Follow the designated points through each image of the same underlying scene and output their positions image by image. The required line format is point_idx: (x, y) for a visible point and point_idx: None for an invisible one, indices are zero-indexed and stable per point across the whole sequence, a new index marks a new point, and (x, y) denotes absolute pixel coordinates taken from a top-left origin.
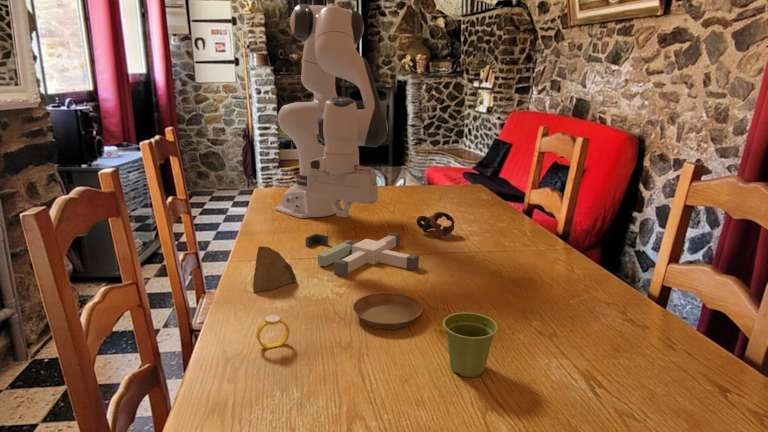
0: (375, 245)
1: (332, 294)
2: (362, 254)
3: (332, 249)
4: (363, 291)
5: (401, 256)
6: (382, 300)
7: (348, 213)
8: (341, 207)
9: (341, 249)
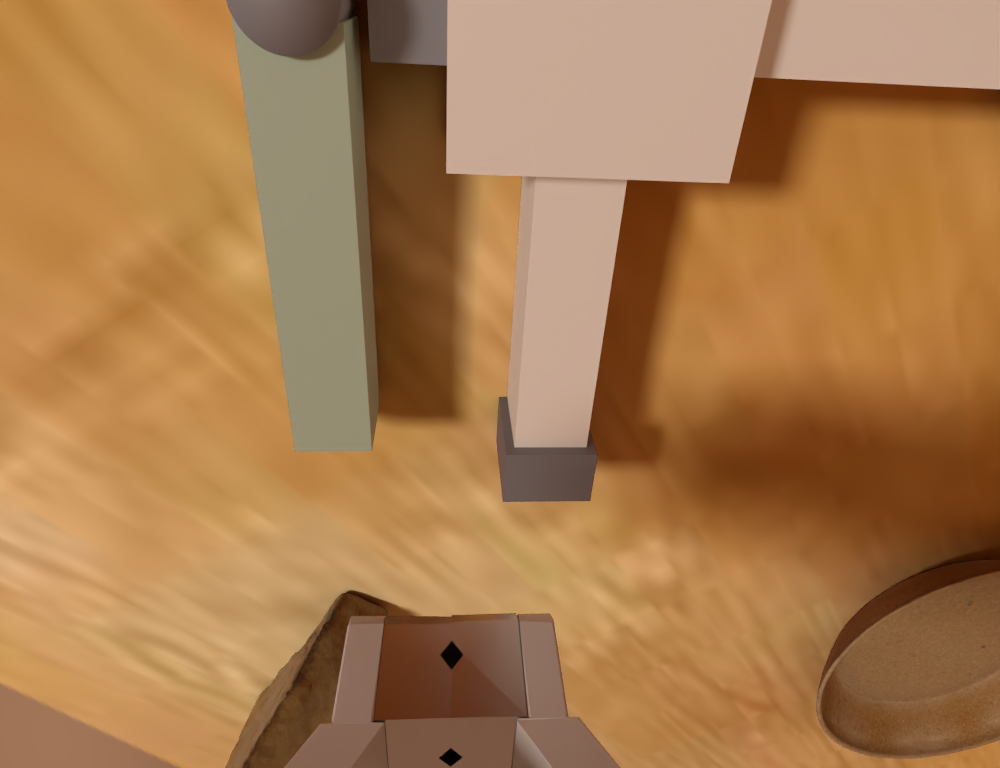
0: (692, 12)
1: (634, 609)
2: (617, 239)
3: (303, 298)
4: (768, 525)
5: None
6: (907, 587)
7: (555, 646)
8: (377, 736)
9: (358, 226)
